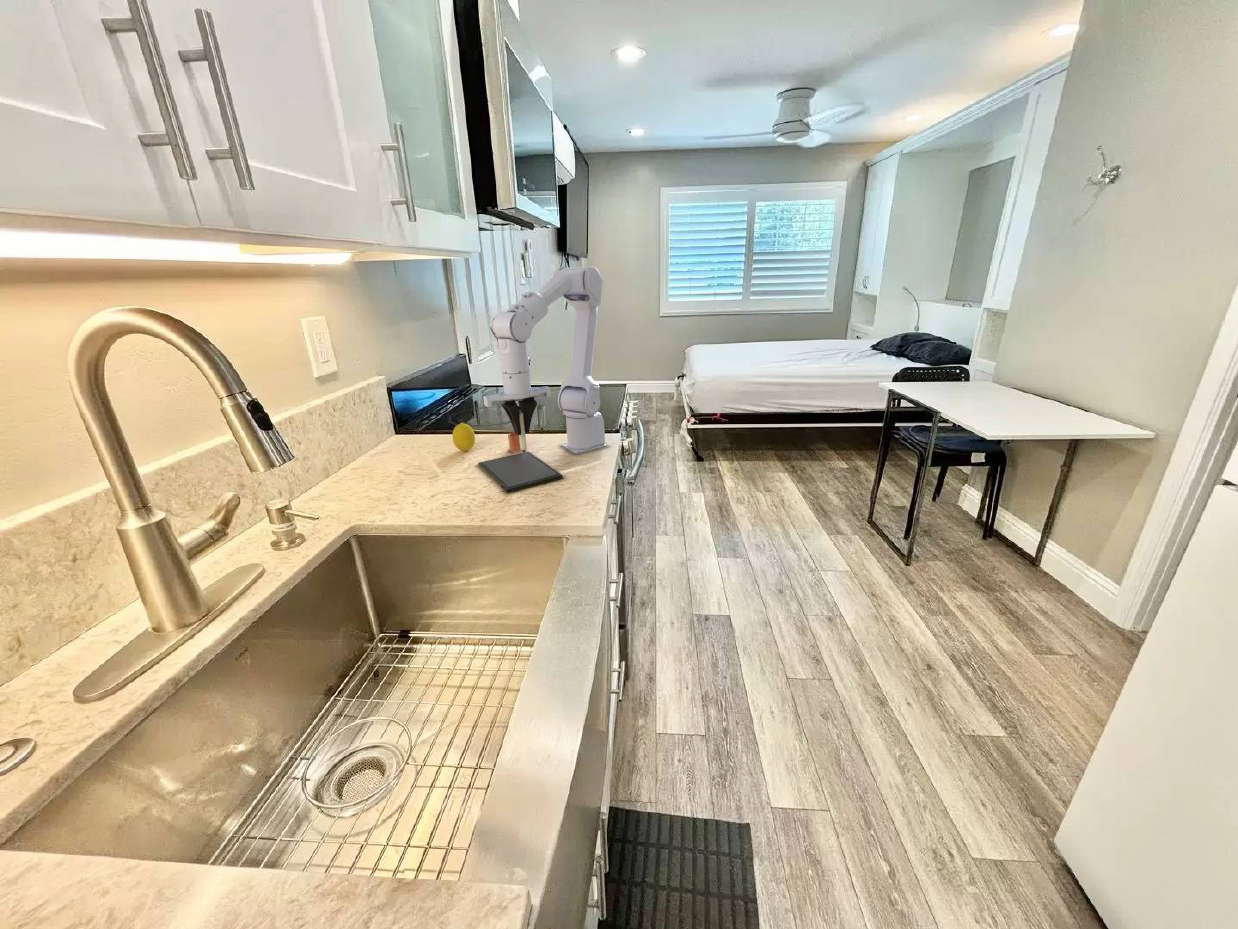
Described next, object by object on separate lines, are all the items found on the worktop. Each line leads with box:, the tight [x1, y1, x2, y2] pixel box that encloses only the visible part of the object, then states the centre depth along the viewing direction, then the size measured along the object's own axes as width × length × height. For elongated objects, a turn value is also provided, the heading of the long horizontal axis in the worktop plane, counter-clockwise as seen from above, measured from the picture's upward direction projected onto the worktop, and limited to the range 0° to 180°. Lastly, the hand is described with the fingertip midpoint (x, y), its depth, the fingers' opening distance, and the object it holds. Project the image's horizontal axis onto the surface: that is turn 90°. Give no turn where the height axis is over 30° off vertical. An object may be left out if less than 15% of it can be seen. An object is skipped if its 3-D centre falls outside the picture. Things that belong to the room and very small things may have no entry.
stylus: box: [519, 412, 528, 453], centre depth 108 cm, size 1×1×9 cm
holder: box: [507, 432, 522, 452], centre depth 127 cm, size 3×3×4 cm
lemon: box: [452, 422, 476, 452], centre depth 126 cm, size 6×6×8 cm
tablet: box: [477, 451, 563, 494], centre depth 114 cm, size 13×19×1 cm
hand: (522, 432), depth 108 cm, fingers closed on stylus, 1 cm apart
